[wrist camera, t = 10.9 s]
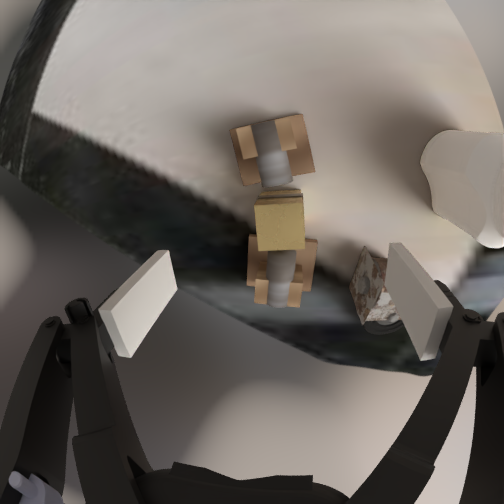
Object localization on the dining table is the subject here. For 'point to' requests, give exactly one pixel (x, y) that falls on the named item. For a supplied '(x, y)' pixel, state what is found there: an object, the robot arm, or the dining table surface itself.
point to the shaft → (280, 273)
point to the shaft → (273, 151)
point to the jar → (468, 182)
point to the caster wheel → (374, 296)
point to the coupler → (280, 220)
